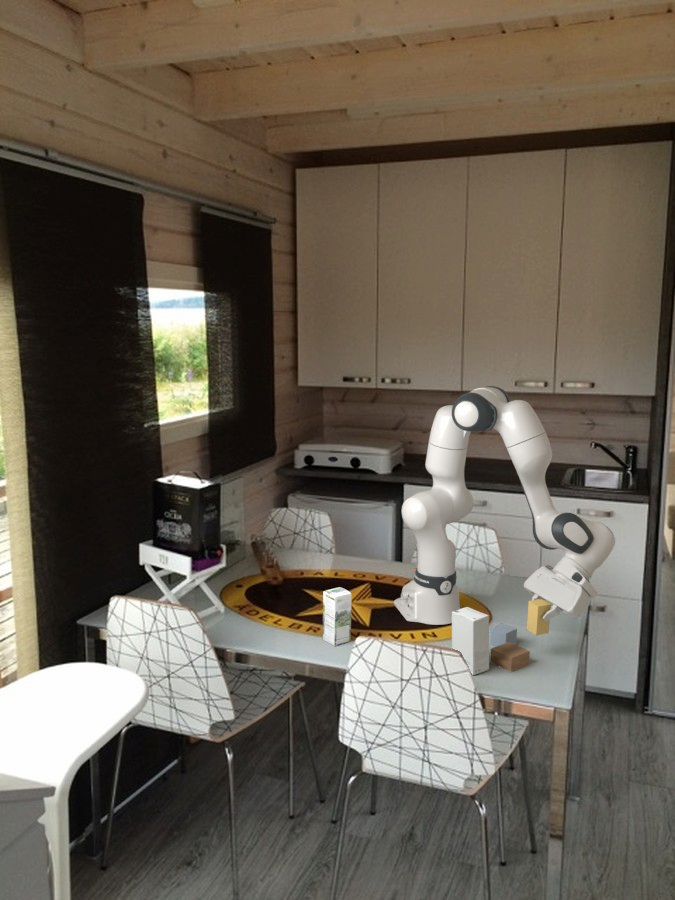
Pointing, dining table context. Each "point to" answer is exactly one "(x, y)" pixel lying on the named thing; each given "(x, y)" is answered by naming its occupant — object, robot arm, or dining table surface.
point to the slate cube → (503, 635)
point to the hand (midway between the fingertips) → (536, 615)
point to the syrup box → (337, 616)
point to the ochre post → (537, 617)
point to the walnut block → (509, 656)
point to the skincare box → (471, 638)
